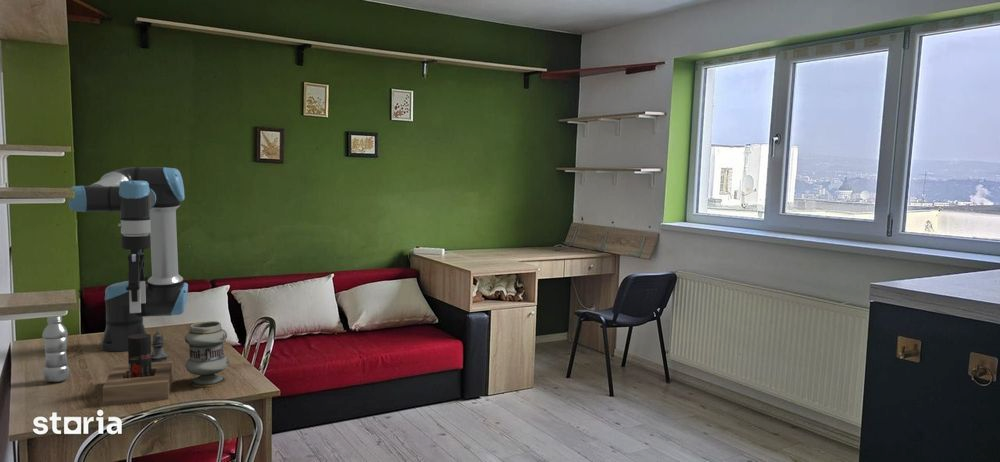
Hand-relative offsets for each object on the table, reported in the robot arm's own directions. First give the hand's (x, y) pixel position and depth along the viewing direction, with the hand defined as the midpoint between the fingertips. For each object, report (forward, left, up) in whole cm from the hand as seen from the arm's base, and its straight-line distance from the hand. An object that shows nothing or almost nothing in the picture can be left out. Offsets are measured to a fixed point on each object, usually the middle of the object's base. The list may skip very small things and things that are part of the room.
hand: (138, 308), depth 198 cm
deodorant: (0, 0, -24) cm, 24 cm away
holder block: (0, 0, -24) cm, 24 cm away
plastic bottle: (-17, -24, -25) cm, 38 cm away
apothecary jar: (-2, +18, -25) cm, 31 cm away
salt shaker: (-24, +3, -25) cm, 34 cm away
